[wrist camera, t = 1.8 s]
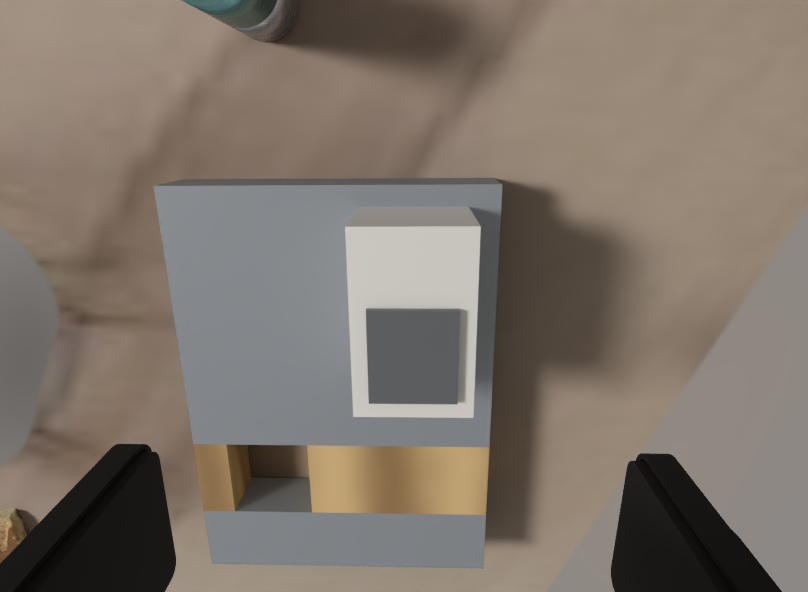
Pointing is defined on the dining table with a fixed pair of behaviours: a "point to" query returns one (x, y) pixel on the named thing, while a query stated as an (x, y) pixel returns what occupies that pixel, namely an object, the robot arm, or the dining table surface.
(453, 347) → the white rectangular block
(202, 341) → the subfloor panel
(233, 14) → the green silver cylinder
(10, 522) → the shard
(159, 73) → the dining table surface
